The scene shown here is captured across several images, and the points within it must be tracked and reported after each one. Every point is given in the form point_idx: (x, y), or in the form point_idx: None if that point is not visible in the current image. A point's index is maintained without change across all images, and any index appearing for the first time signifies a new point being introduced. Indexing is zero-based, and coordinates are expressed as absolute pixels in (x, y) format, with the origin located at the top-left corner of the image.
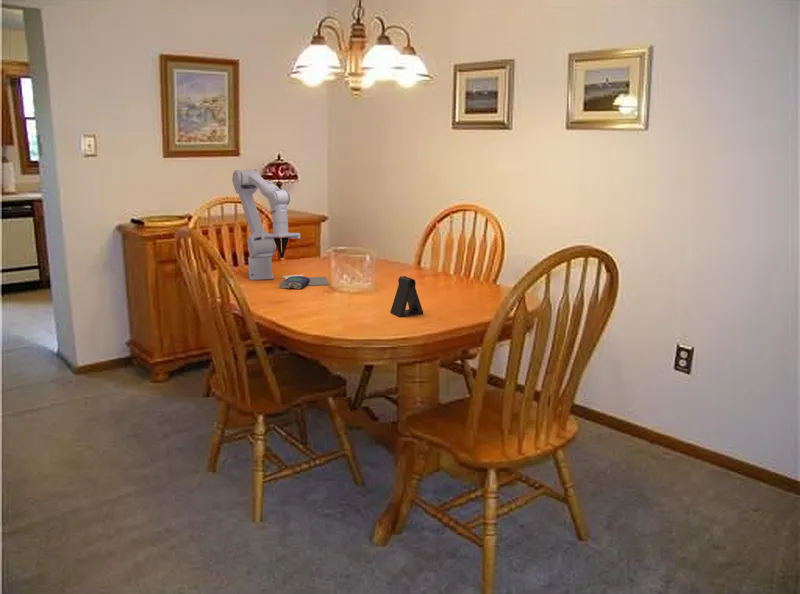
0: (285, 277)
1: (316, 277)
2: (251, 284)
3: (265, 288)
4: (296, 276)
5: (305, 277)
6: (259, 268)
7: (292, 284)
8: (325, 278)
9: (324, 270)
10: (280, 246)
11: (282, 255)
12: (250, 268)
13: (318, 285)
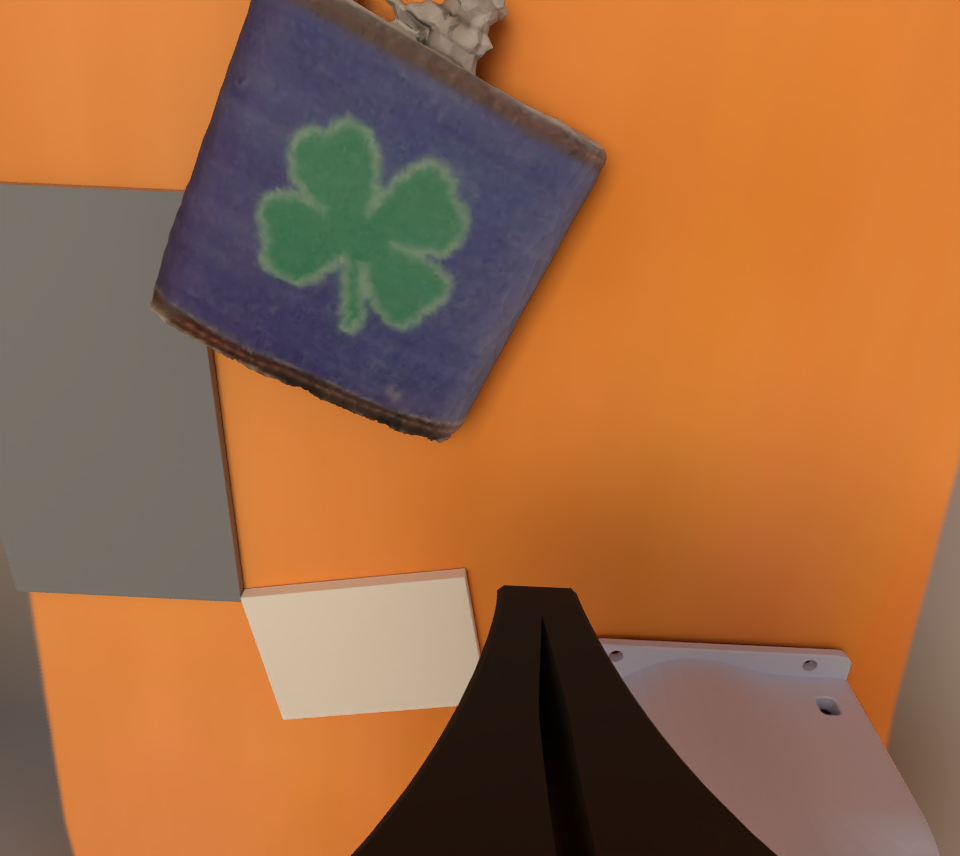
0: (460, 641)
1: (115, 576)
2: (886, 468)
3: (786, 199)
4: (329, 391)
5: (199, 317)
6: (773, 757)
7: (416, 3)
8: (3, 508)
9: (73, 842)
10: (602, 787)
11: (529, 615)
12: (882, 773)
13: (56, 184)
